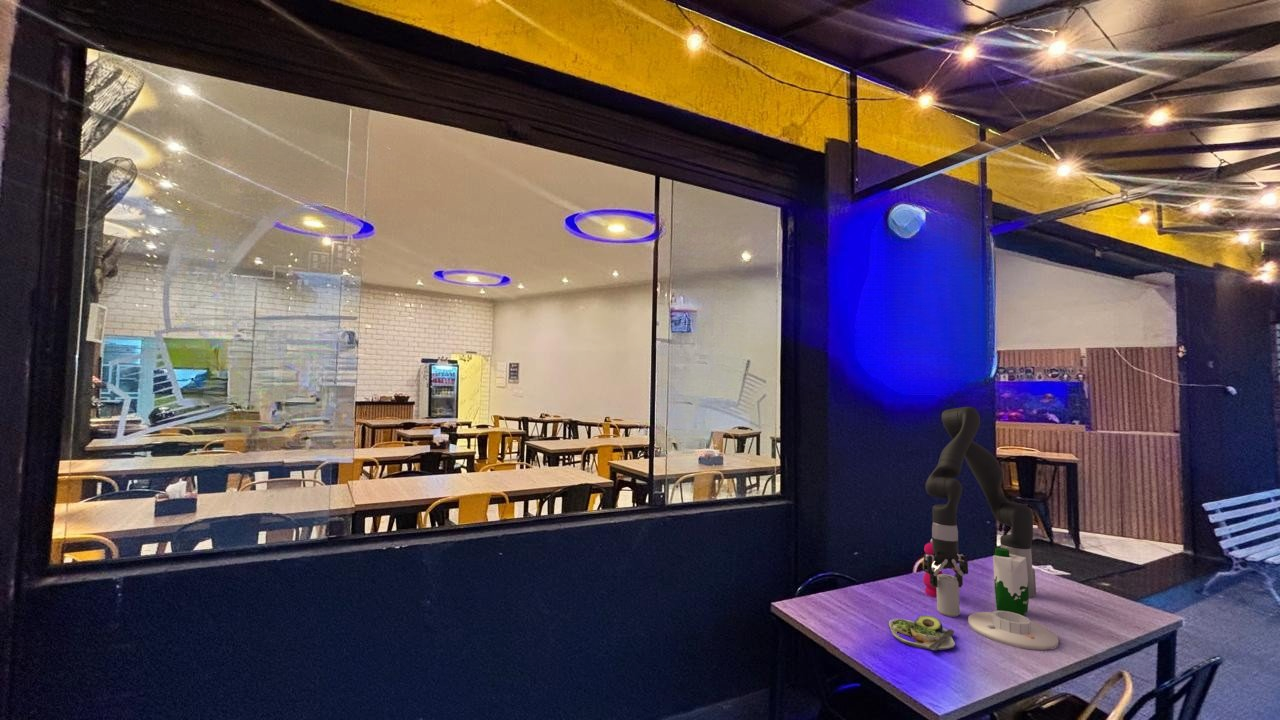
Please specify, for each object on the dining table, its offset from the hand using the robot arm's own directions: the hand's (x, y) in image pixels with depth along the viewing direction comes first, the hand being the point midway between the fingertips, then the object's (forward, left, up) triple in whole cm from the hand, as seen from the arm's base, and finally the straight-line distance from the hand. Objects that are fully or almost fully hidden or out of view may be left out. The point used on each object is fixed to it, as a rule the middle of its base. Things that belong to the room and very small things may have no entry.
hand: (946, 586), depth 164 cm
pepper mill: (-7, -16, -9) cm, 20 cm away
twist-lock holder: (-10, +14, -9) cm, 19 cm away
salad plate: (+20, +15, -9) cm, 27 cm away
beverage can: (0, 0, -9) cm, 9 cm away
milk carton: (-24, -1, -9) cm, 26 cm away
